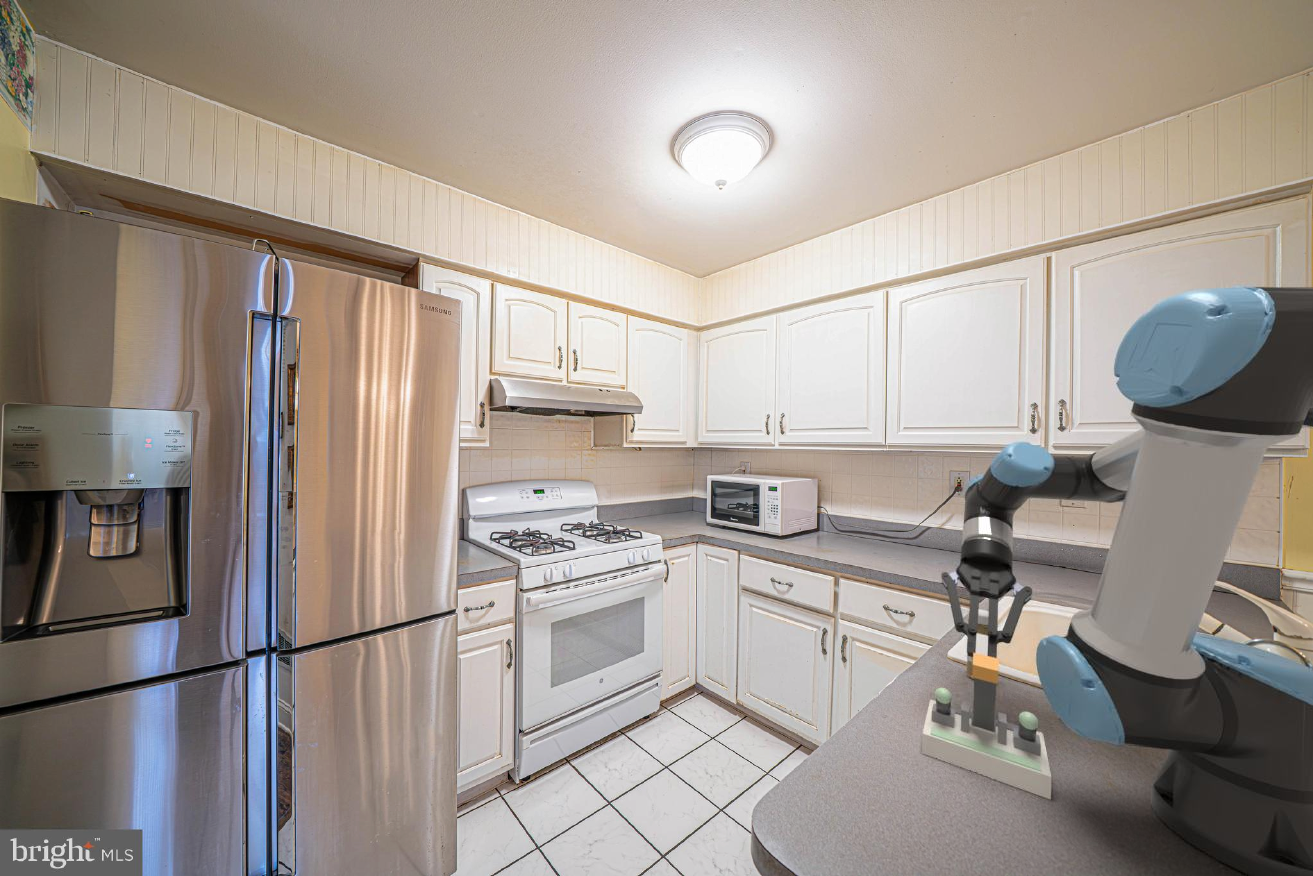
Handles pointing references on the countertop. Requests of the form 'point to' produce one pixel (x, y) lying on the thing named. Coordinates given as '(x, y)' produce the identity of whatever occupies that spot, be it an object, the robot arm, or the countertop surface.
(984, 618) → the sprinkles bottle
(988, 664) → the breaker lever
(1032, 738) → the lever control panel
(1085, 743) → the countertop surface
